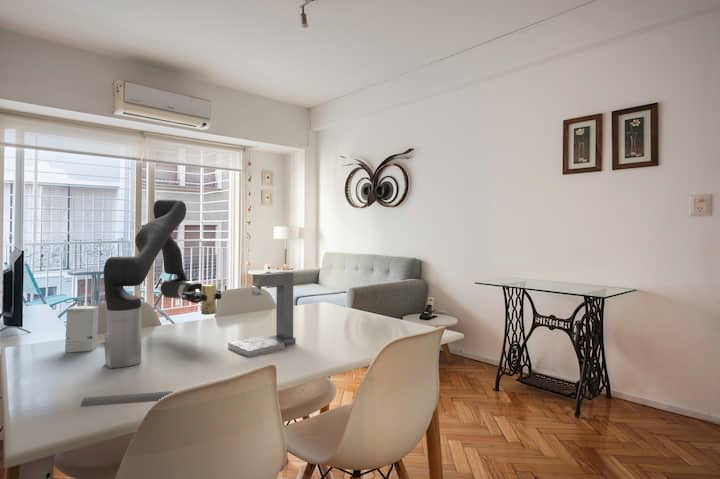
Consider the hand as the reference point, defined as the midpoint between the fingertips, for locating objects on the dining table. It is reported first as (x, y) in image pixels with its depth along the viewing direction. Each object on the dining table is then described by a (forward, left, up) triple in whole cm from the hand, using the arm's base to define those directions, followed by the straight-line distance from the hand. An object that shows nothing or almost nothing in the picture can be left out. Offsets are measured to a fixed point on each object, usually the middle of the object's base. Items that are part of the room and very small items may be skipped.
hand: (212, 297), depth 147 cm
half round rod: (-35, -29, -19) cm, 49 cm away
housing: (0, +3, -6) cm, 7 cm away
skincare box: (-34, +28, -18) cm, 47 cm away
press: (+14, -9, -18) cm, 24 cm away
